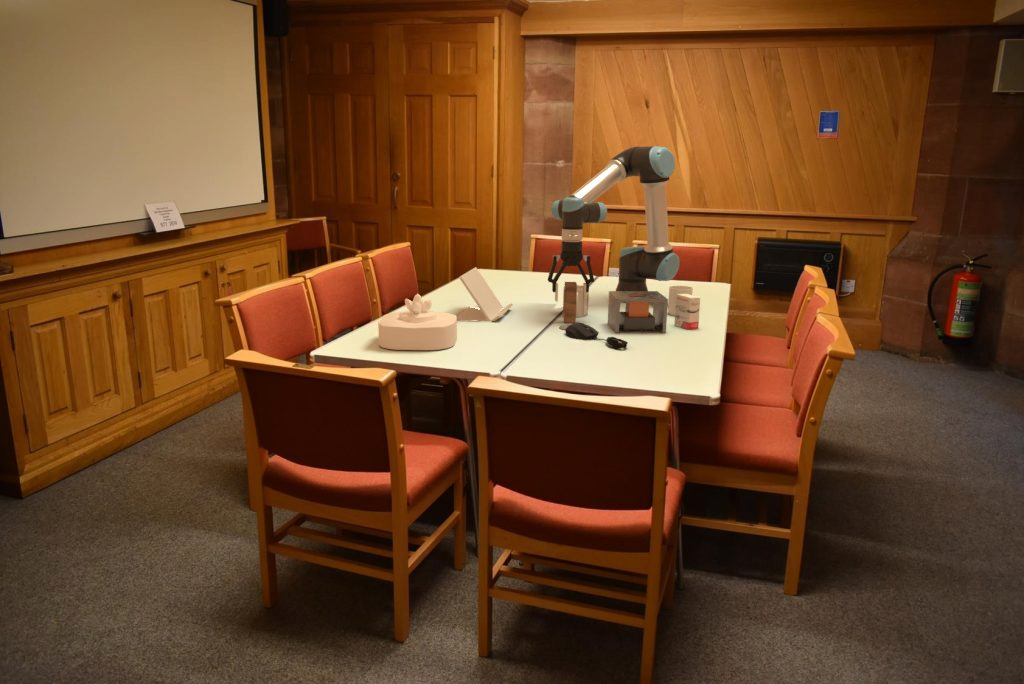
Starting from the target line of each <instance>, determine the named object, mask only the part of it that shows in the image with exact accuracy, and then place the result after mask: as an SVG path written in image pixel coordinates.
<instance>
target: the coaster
mask: <svg viewBox="0 0 1024 684" xmlns="http://www.w3.org/2000/svg"><path fill="white" fill-rule="evenodd" d="M569 325H570V324H562V325H559V326H558V328H559V330H562V331H565V329H566V328H567V327H568V326H569Z"/></svg>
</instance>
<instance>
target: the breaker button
mask: <svg viewBox="0 0 1024 684" xmlns="http://www.w3.org/2000/svg"><path fill="white" fill-rule="evenodd" d="M624 308H625V309H624V312H625V314H626V315H627V316H628V317H648V315H649V313H650V302H626V303H625V307H624Z"/></svg>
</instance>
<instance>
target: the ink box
mask: <svg viewBox="0 0 1024 684" xmlns="http://www.w3.org/2000/svg"><path fill="white" fill-rule="evenodd" d="M700 305H701V297H700V296H696V295H693V294H692V295H689V294H676V308H675V316H674V326H675V327H679V328H682V329H685V330H690V331H691V330H695V329H696V330H697V329H699V326H700V325H699V322H700V308H701V307H700Z"/></svg>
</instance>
